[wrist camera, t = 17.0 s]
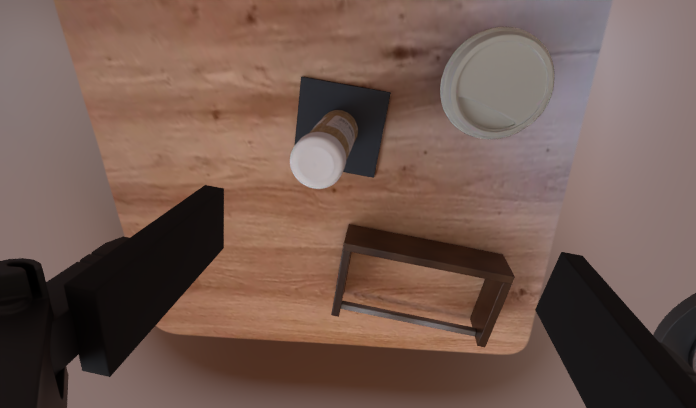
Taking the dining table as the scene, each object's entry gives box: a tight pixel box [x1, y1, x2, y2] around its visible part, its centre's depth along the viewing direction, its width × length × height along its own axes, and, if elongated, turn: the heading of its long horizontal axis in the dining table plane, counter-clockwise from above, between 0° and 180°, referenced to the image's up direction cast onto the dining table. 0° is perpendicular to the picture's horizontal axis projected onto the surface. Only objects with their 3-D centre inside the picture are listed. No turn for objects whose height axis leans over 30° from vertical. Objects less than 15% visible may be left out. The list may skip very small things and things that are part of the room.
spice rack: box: [331, 224, 515, 347], centre depth 46 cm, size 20×11×5 cm, turn 81°
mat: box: [295, 77, 391, 178], centre depth 42 cm, size 10×10×1 cm
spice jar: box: [290, 110, 358, 189], centre depth 36 cm, size 5×5×14 cm
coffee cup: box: [440, 27, 554, 139], centre depth 33 cm, size 9×8×12 cm
